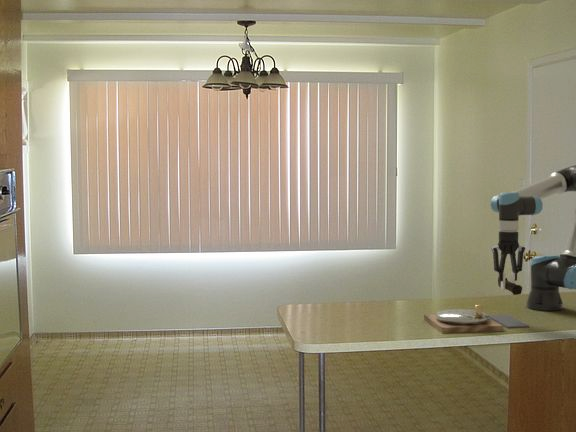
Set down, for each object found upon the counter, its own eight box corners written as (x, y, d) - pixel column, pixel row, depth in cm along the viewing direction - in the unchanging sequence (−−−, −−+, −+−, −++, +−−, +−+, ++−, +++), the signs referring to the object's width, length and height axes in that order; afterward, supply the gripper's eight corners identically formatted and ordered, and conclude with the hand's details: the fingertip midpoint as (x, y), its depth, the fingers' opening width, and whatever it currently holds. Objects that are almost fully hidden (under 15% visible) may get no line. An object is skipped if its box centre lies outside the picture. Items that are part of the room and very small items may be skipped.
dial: (499, 320, 296) (500, 303, 295) (461, 326, 286) (461, 308, 285) (463, 312, 313) (463, 295, 313) (426, 317, 303) (426, 300, 303)
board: (480, 317, 313) (480, 312, 313) (503, 330, 289) (503, 324, 289) (424, 319, 311) (424, 314, 310) (441, 332, 287) (441, 326, 287)
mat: (507, 315, 317) (507, 314, 317) (529, 327, 295) (529, 325, 295) (486, 316, 316) (486, 314, 316) (507, 328, 294) (507, 326, 294)
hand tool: (522, 295, 295) (522, 283, 295) (512, 295, 295) (512, 283, 294) (505, 286, 314) (505, 275, 313) (495, 286, 314) (496, 275, 313)
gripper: (524, 229, 307) (523, 286, 309) (485, 230, 306) (484, 287, 307) (532, 231, 300) (531, 290, 302) (492, 232, 298) (491, 291, 300)
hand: (507, 288), depth 304 cm, fingers closed on hand tool, 3 cm apart
